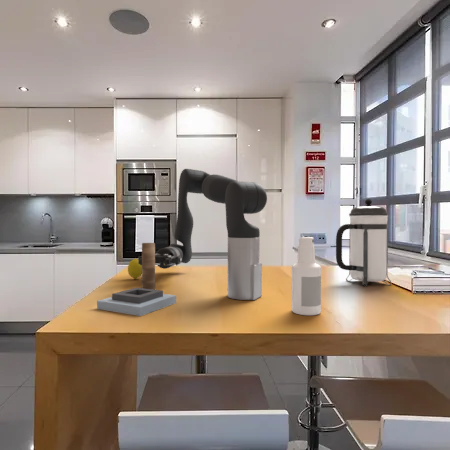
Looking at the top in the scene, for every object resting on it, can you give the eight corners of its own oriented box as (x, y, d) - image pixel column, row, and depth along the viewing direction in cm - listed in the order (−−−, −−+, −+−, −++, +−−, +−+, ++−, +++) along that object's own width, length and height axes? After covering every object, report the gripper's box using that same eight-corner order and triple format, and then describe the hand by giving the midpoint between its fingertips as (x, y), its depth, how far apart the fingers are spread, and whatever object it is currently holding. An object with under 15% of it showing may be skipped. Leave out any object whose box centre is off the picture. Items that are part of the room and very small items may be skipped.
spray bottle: (315, 317, 75) (316, 238, 75) (287, 313, 79) (287, 237, 79) (324, 310, 81) (324, 237, 81) (297, 306, 85) (297, 236, 84)
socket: (176, 302, 89) (176, 289, 89) (140, 316, 76) (140, 300, 76) (136, 297, 95) (136, 285, 95) (97, 308, 82) (97, 294, 82)
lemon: (138, 280, 122) (138, 259, 122) (125, 280, 123) (125, 258, 123) (145, 278, 127) (145, 257, 127) (132, 277, 128) (132, 257, 128)
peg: (157, 290, 105) (157, 242, 105) (149, 292, 102) (149, 243, 101) (147, 289, 107) (147, 242, 107) (139, 291, 103) (139, 243, 103)
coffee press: (349, 277, 129) (349, 200, 129) (394, 282, 120) (395, 199, 119) (335, 284, 115) (335, 198, 115) (385, 290, 105) (386, 196, 105)
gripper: (149, 247, 126) (132, 250, 109) (186, 247, 124) (174, 250, 108) (149, 266, 126) (132, 273, 109) (186, 267, 124) (174, 274, 108)
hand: (153, 262), depth 109 cm, fingers open, 8 cm apart
